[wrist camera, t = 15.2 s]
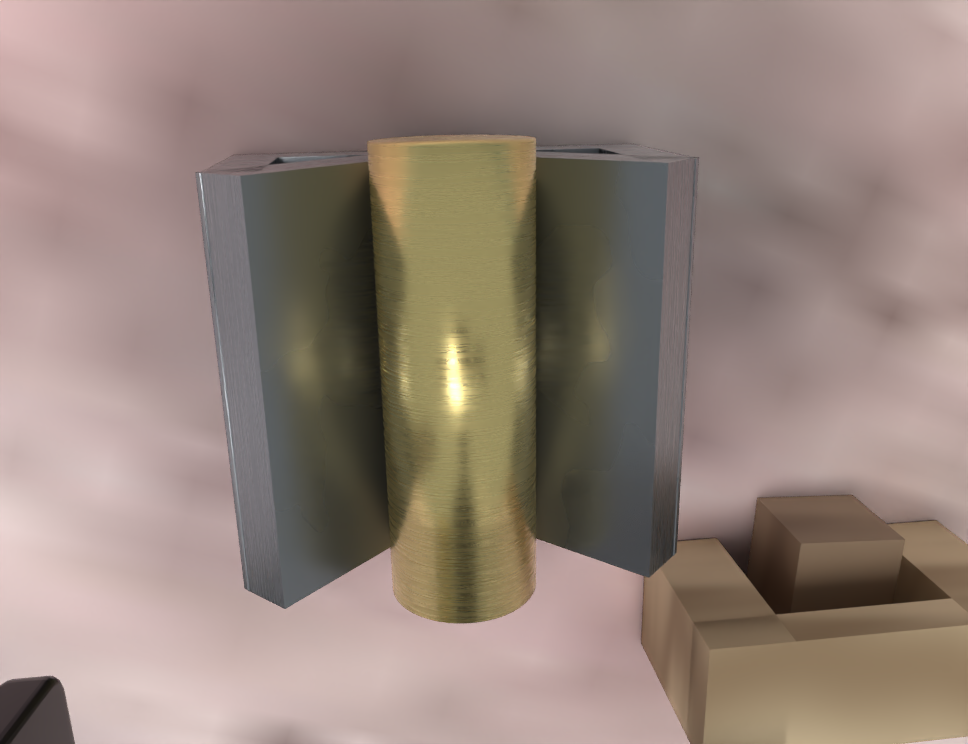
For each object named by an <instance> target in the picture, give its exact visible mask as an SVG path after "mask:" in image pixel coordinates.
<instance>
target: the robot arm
mask: <svg viewBox="0 0 968 744" xmlns="http://www.w3.org/2000/svg"><path fill="white" fill-rule="evenodd" d="M0 744H75V741H74V736H73V731H72V726H71V722H70V717H69V712H68V707H67V702H66V697H65V692H64V688H63V686H62V684H61V682H60V680H58V679H57V678H55V677H54V676H43V677H32V678H21V679H12V680H9V681H6V682H5V683H3V684H2V685H0Z"/></svg>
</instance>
